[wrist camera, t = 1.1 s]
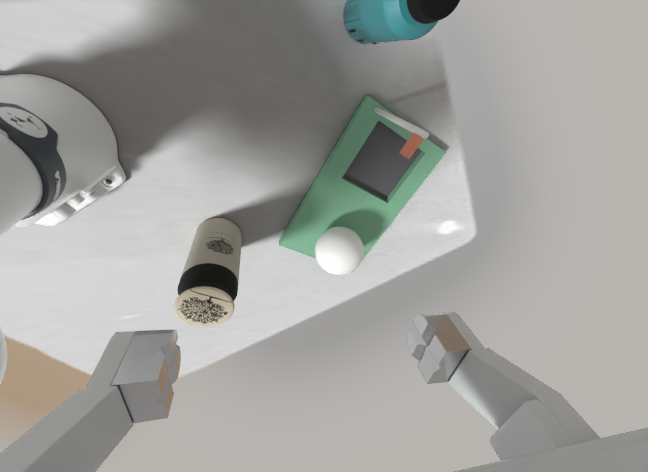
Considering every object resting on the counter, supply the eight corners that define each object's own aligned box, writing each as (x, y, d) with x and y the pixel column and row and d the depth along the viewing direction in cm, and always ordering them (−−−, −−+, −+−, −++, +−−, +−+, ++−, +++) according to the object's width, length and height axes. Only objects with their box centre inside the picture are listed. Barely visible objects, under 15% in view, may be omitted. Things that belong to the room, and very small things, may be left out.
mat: (351, 267, 63) (378, 331, 49) (278, 240, 55) (286, 307, 41) (441, 149, 51) (512, 188, 37) (366, 94, 43) (419, 117, 29)
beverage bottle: (332, 34, 38) (388, 24, 22) (349, -27, 35) (429, -93, 19) (374, 52, 40) (453, 54, 24) (393, -5, 37) (499, -47, 21)
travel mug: (226, 259, 55) (215, 335, 40) (188, 240, 51) (160, 316, 36) (250, 231, 53) (247, 301, 38) (211, 209, 49) (191, 278, 34)
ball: (329, 262, 59) (340, 292, 51) (302, 237, 54) (309, 267, 47) (364, 237, 57) (379, 264, 49) (338, 208, 52) (351, 235, 45)
